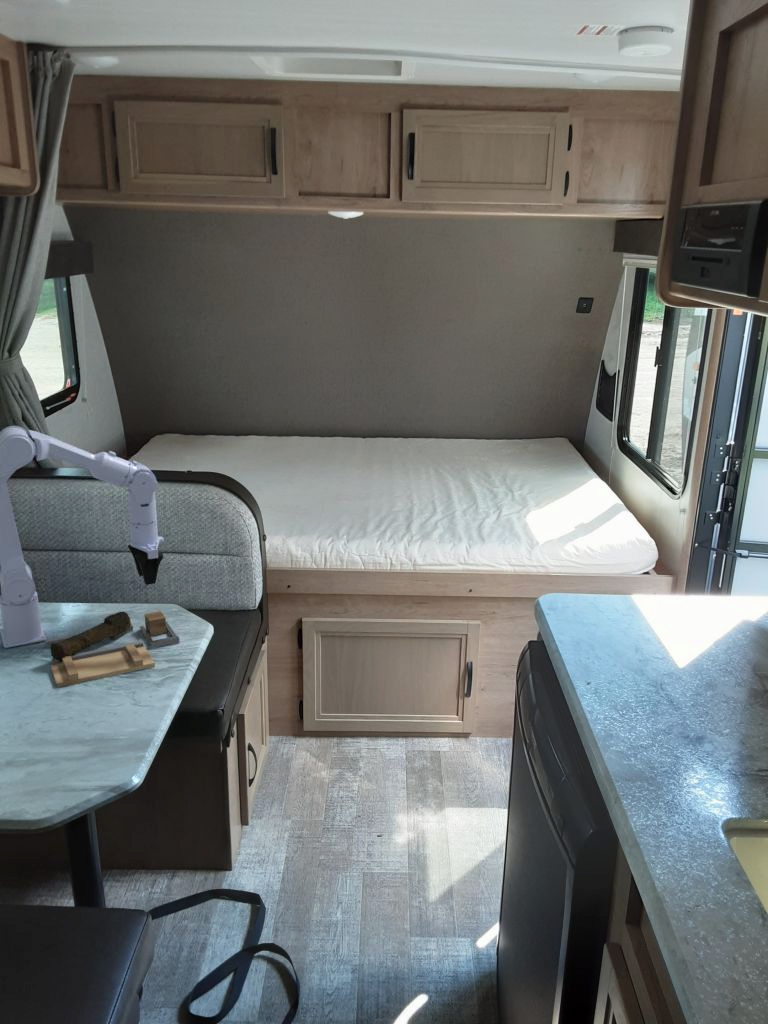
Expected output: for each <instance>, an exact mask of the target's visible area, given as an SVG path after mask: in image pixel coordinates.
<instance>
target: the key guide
mask: <svg viewBox="0 0 768 1024" xmlns="http://www.w3.org/2000/svg"><path fill="white" fill-rule="evenodd" d="M139 631H140V632H141V634H142V636H143V637H144V639H145V640H146V642H147V643H148V645H149V647H150V648H151V649H156V648H161V647H166V646H171V645H176V644H180V643H181V642H180V637H179V635H177V634H176V632H175V631H174V630H173V628H172V627H171V626H170V624H169V623H168V621H166V633H167V634H168V635H169V634H170V635H169V636H170V637H165V638H160V639H154V640H153V638H152V637H151V636H150V635H149V633H148V632H147V630H146V627H145V626H144V625H140V626H139Z"/></svg>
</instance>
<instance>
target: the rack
mask: <svg viewBox="0 0 768 1024" xmlns="http://www.w3.org/2000/svg"><path fill="white" fill-rule="evenodd" d="M131 643H132V644H128V643H126V644H127V645H125V650H124V651H119V652H114V653H109V654H104V655H99V656H94V657H90V658H85V659H80V660H75V661H73V660H72V658H71V656H67V657H65V658H62V662H63V663H60V664H55V665H52V664H51V665H50V670H51V673H52V675H53V679H54V681H55V685H56V687H57V688H62V687H66V686H71V685H75V684H79V683H85V682H89V681H93V680H98V679H99V680H100V679H103V678H104V679H105V678H108V677H111V676H112V677H113V676H117V675H122V674H127V673H130V672H136V671H140V670H145V669H148V668H149V669H150V668H155V667H156V664H155V661H154V660H153V658H152V656H151V654H150V653H149V651H148V650H147V648H146V647H145V646H144V647H139V648H136V647H135V645H134V644H133V642H131Z"/></svg>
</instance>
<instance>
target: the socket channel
mask: <svg viewBox="0 0 768 1024" xmlns="http://www.w3.org/2000/svg"><path fill="white" fill-rule="evenodd" d="M130 632H131V633H132V632H134V626H133V624H132V623H131V626H130V628H129V629H128V630H127V631H126V632H124V633H123V634H126V633H130ZM77 634H78V633H76V634H71V635H66V636H65V635H64V636H60V637H59V636H58V637H53V638H48V639H46V640H45V641H44V645H45V648H46V649H47V648H50V647H51V643H58V642H60V641H63V640H65V639H68V638H70V637H72V636H74V635H77ZM132 643H133V644H134V645H135V647H136V648H139V647H144V641H143V640H138V641H134V642H129V643H123V644H119V645H114V646H109V647H104V648H98V649H93V650H89V651H84V652H78V653H76V654H74V655H72V656H71V658H72V660H73V661H75V660H80V659H85V658H90V657H94V656H99V655H104V654H109V653H114V652H119V651H124V650H125V645H127V644H132ZM60 663H63V662H59V661H58V660H57V659H55V658H53V657H52V658H51V665H55V664H60Z"/></svg>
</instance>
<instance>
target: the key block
mask: <svg viewBox="0 0 768 1024" xmlns="http://www.w3.org/2000/svg"><path fill="white" fill-rule="evenodd" d="M166 620H167V619H166V617H165V615H164V614H163V611H161V610H157V611H153V612H152V611H151V612H146V613H144V625H145V626H144V628H145V629H146V631H147V632H148V634H149V635H150V637H151V636H152V637H153V636H156V635H162V634H167V630H166Z"/></svg>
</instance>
